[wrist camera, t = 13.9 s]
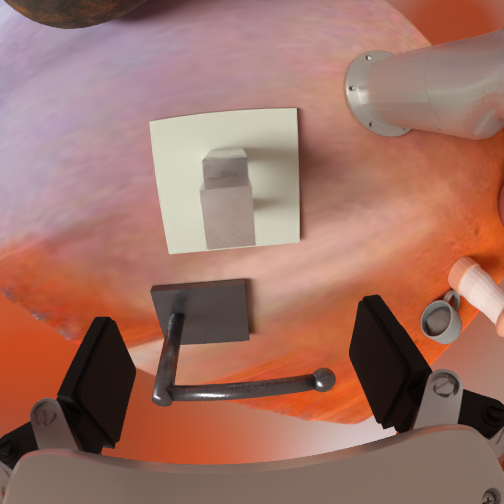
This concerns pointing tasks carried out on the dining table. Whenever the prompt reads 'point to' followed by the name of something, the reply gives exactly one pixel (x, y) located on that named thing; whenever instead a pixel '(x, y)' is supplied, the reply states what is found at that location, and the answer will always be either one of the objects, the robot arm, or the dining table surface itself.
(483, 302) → the salt shaker
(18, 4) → the jug
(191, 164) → the mat
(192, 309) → the stand
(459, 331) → the ceramic mug
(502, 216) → the balloon
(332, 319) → the dining table surface
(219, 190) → the stepped metal block
